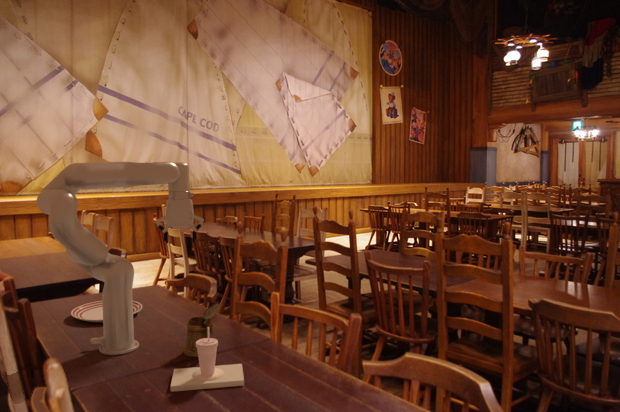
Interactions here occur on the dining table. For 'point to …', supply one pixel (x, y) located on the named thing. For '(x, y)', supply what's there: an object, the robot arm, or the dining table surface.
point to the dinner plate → (96, 311)
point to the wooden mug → (199, 329)
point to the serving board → (207, 378)
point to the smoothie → (207, 354)
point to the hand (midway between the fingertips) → (180, 242)
